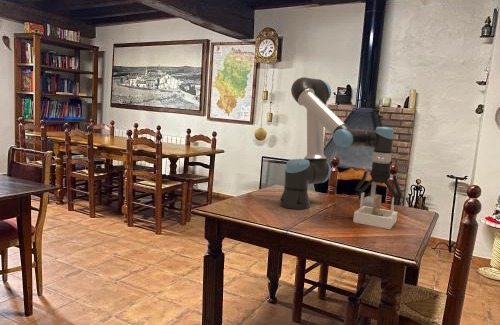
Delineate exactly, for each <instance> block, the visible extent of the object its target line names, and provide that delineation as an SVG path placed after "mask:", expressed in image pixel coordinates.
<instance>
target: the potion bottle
mask: <svg viewBox="0 0 500 325" xmlns="http://www.w3.org/2000/svg"><path fill="white" fill-rule="evenodd" d="M370 185H371V187H370V188H371V189H370V195H369V196H366V197H364V202H363V206H367V207H373V202H374V196H375V195H376V189H377V185H378V183H375V182H372V183H371V184H370Z"/></svg>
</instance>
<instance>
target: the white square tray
mask: <svg viewBox="0 0 500 325" xmlns="http://www.w3.org/2000/svg"><path fill="white" fill-rule="evenodd" d="M372 210H373V207H367V206H363V207H360V208H358V209H356V210H355V211H354V212H353V222H352V223H354V224H355V223H357V224H362V225H366V226H372V227H376V228H381V229H385V230H387V229H388V230H391V229H392V228H393V226H395V224H396V223H397V220H398V211H395V210H394V212H393V213H391V209H390V210H389V209H385V208H380V215H379V216H377V215H372Z"/></svg>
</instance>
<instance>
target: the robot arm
mask: <svg viewBox="0 0 500 325" xmlns="http://www.w3.org/2000/svg"><path fill="white" fill-rule="evenodd" d="M290 90H291V92H290V93H291V96H292V98H293V99H294V100H295V102H296V103H297V104H298V105H299V106H300V107H301V106H303V107H304V108H306V155H305V156H304V158H293V159H290V160H289V159H288V160H287V162H286V164H285V168H284V171H285V172H284V186H283V192H282V193H281V195H280V196H281V197H280V199H279V206H281V207H283V208H287V209H290V210H305V209H306V210H307V209H309V208H310V207H311V206H310V204H311V202H310V198H309V193H308V187H309V186H308V185H315V184H317V185H318V184H322V183H325V182H327V181H328V180H329V179H330V177H331V174H332V167H331V165H330V163H329V162H328V160H327V159H328V158H327V157H326V156H325V153H324V152H325V151H324V150H325V148H324V147H325V146H324V145H325V144H324V143H325V142H324V140H325V139H324V133H325V132H324V128H325V129H326V130H327V131H328V132H329V133H330V134H331V136H332V140H333V143H334V144H335V145H336V146H337V147H341V148H342V147H343V148H347V147H348V148H349V147H350V148H351V147H365V148H372V149H373V152H372V153H373V154H372V155H373V156H372V163H371V164H372V165H371V172H370V171H367V170H365V171H363V175H362V178H361V179H360V180H359V182H358V183H357V185H356V187H355V188H354V190H355V191H357V192H358V200H360V205H359V207H360V208H361V207H363V202H364V199H365V192H364V191H365V190H366V189H367V188H369V186H370V185H372V184H371V183H372V182H375V183H377V184H381V185H382V184H384V185H385V186H386V188H387V189H388V191H389V192H390V193H391V194H392V196H393V197H392V198H391V205H390V206H391V207H390V211H391V213H393V212H394V211H395V206H397V205H398V198H402V197H403V192H402V190H401V187H400V184H399V181H398V175H397V174H391V173H390V172H391V162H392V154H393V153H392V151H393V144H394V143H393V142H394V132H395V131H394V128H392V127H388V126H376V128H375V130H367V129H361V128H360V129H352V128H350V127H349V126H348V125H347V124H346V123H345V122H344V121H343V120H342V119H341V118H340V117H338V115H337V114H335V112H334V111H332V110H331V109H330V108H329V106H327V102H328V101H329V100H330V98H331V97H332V96H331V95H332V89H331V85H330V84H329V83H328V82H327V81H326V80H323V79H319V78H310V77H304V76H303V77H300V78H297V79H296V80H295V81H293V83H292V85H291V88H290ZM369 176H370V177H371V179H370V180H369V181H368V182H366V184H364V182H365V181H366V179H367V177H369ZM390 178H391V180H392V182H393V185H394V187H395V189H396V190H395V189H394V187H393V186H392V184H391V183H390V181H389V179H390ZM363 184H364V185H363ZM362 186H363V187H362Z"/></svg>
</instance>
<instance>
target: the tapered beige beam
mask: <svg viewBox="0 0 500 325" xmlns="http://www.w3.org/2000/svg"><path fill="white" fill-rule="evenodd" d="M382 197H383V195H381V194H375V196H374V202H373V210H372V215H377V216H379V215H380V209H381V206H382Z"/></svg>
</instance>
